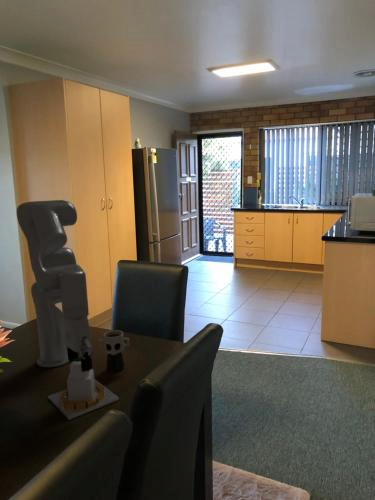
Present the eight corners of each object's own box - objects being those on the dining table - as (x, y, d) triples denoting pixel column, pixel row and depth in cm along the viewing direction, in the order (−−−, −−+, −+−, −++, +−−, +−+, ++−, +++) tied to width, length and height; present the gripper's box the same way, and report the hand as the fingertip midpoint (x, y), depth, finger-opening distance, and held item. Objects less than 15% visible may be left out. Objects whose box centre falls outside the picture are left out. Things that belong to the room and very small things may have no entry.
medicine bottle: (72, 391, 131) (69, 356, 129) (95, 389, 132) (92, 354, 129) (68, 403, 124) (64, 366, 122) (92, 401, 125) (89, 364, 122)
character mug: (98, 373, 144) (96, 338, 142) (101, 364, 151) (99, 331, 149) (130, 371, 145) (128, 336, 143) (131, 363, 152) (129, 329, 150)
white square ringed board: (48, 398, 129) (47, 392, 129) (95, 381, 139) (94, 375, 138) (68, 420, 117) (68, 413, 116) (118, 399, 126) (118, 393, 126)
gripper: (52, 307, 127) (57, 359, 130) (75, 321, 114) (80, 379, 117) (75, 302, 132) (79, 352, 135) (100, 315, 119) (104, 370, 122)
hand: (80, 364), depth 126 cm, fingers open, 9 cm apart
